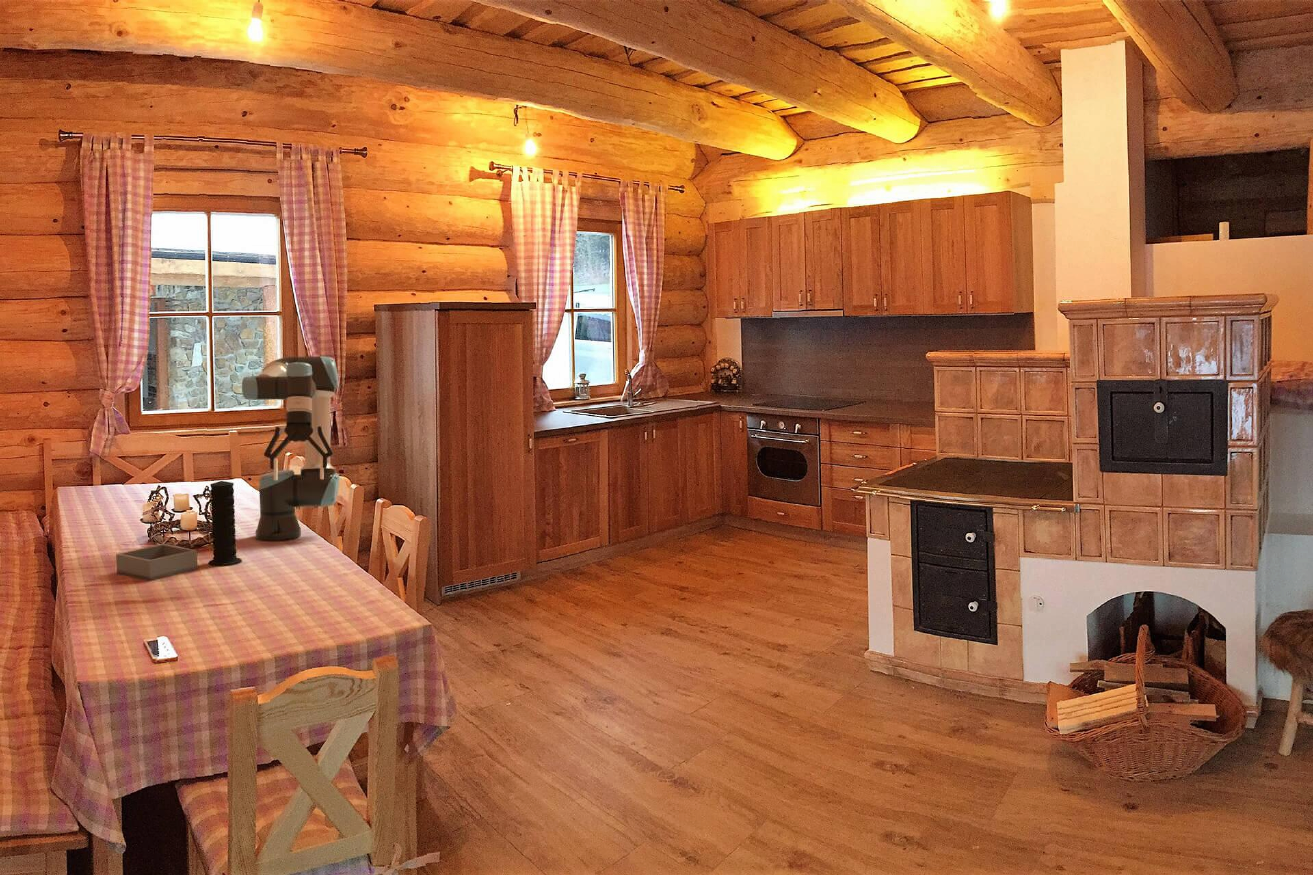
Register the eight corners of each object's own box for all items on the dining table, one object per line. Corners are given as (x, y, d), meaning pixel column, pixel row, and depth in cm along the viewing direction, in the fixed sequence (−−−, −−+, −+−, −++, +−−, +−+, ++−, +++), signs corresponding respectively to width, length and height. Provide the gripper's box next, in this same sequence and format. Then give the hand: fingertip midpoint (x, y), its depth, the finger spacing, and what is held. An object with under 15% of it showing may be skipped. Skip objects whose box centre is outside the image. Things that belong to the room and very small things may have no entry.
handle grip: (201, 565, 318) (229, 567, 316) (197, 482, 315) (226, 484, 313) (220, 557, 328) (248, 559, 326) (217, 477, 325) (245, 478, 323)
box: (164, 562, 321) (163, 543, 320) (197, 569, 314) (196, 550, 313) (117, 573, 307) (116, 554, 307) (150, 580, 300) (149, 561, 299)
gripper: (254, 410, 309) (253, 478, 306) (339, 409, 315) (339, 477, 312) (259, 414, 317) (258, 481, 314) (341, 413, 322) (341, 479, 319)
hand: (298, 479), depth 313 cm, fingers open, 13 cm apart
